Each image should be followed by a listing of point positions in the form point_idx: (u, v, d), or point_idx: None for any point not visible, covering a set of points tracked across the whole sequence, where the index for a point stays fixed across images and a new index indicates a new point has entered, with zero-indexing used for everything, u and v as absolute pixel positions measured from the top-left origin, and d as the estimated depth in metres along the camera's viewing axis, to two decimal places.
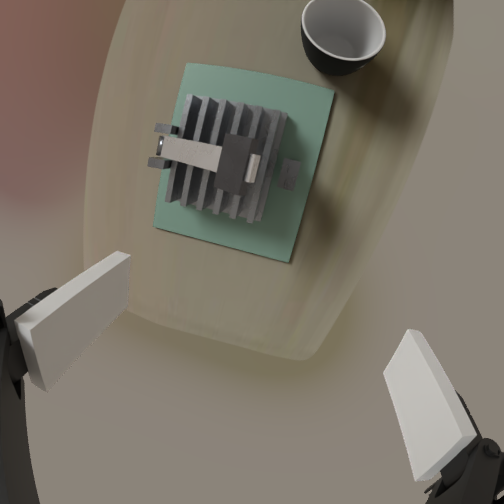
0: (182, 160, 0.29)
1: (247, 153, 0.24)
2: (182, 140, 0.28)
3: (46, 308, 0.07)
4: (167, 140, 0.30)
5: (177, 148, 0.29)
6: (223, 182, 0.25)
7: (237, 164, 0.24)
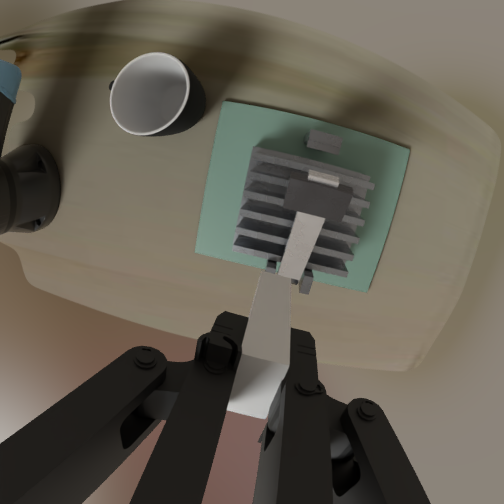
0: (307, 255, 0.28)
1: (307, 183, 0.22)
2: (285, 255, 0.28)
3: (258, 335, 0.09)
4: (283, 272, 0.30)
5: (294, 260, 0.29)
6: (337, 210, 0.23)
7: (319, 194, 0.22)
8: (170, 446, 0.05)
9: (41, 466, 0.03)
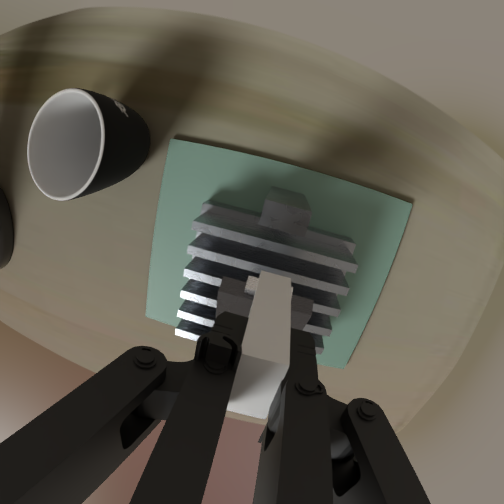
0: None
1: (243, 298, 0.15)
2: None
3: (258, 335, 0.09)
4: None
5: None
6: None
7: None
8: (170, 446, 0.05)
9: (41, 466, 0.03)
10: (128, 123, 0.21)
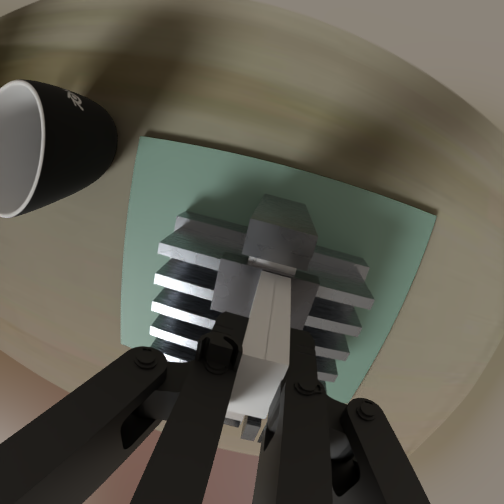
0: None
1: (247, 267, 0.14)
2: None
3: (259, 335, 0.09)
4: None
5: None
6: (295, 313, 0.15)
7: None
8: (171, 446, 0.05)
9: (41, 466, 0.03)
10: (82, 118, 0.15)
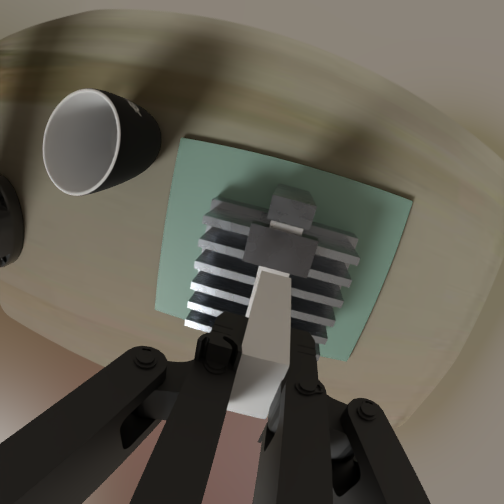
0: None
1: (269, 229, 0.21)
2: None
3: (258, 335, 0.09)
4: None
5: None
6: (302, 263, 0.22)
7: (282, 242, 0.21)
8: (170, 446, 0.05)
9: (41, 466, 0.03)
10: (141, 122, 0.22)
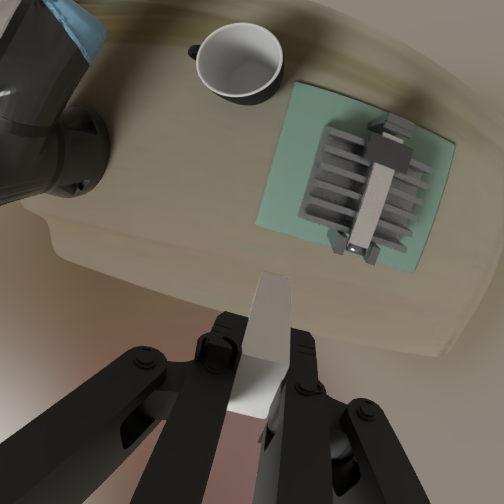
0: (378, 214, 0.30)
1: (383, 137, 0.27)
2: (359, 214, 0.30)
3: (258, 335, 0.09)
4: (354, 237, 0.31)
5: (366, 221, 0.30)
6: (403, 163, 0.27)
7: (391, 147, 0.27)
8: (170, 446, 0.05)
9: (41, 466, 0.03)
10: None
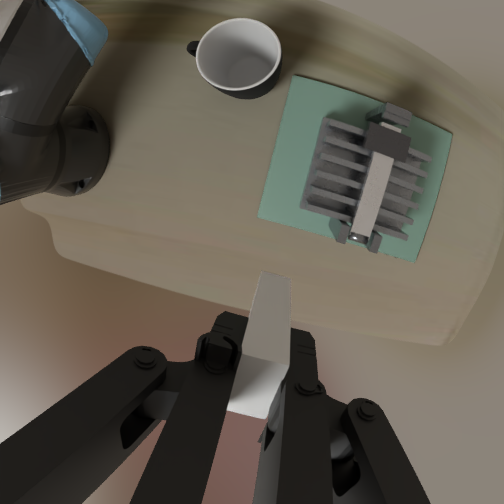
0: (379, 203, 0.30)
1: (382, 126, 0.27)
2: (360, 203, 0.30)
3: (259, 335, 0.09)
4: (356, 226, 0.31)
5: (367, 210, 0.31)
6: (402, 151, 0.28)
7: (389, 136, 0.27)
8: (170, 446, 0.05)
9: (41, 466, 0.03)
10: None
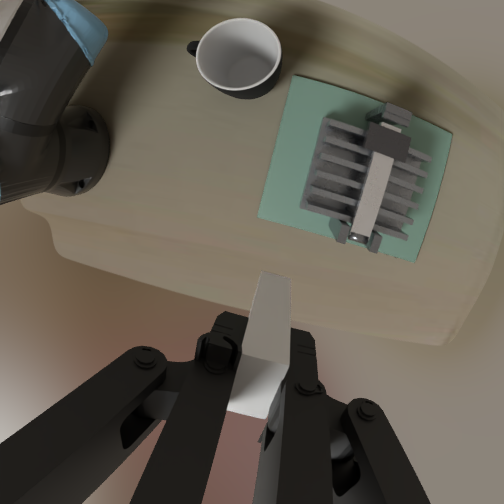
0: (379, 203, 0.30)
1: (382, 126, 0.27)
2: (360, 203, 0.30)
3: (259, 335, 0.09)
4: (356, 226, 0.31)
5: (367, 210, 0.31)
6: (402, 151, 0.28)
7: (389, 136, 0.27)
8: (170, 446, 0.05)
9: (41, 466, 0.03)
10: None
